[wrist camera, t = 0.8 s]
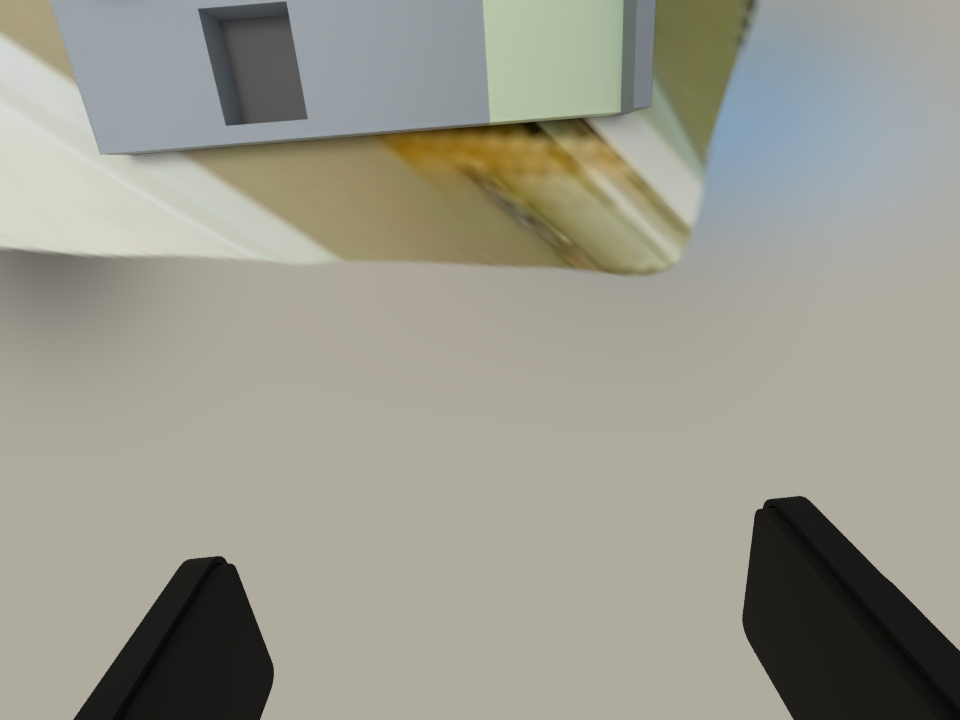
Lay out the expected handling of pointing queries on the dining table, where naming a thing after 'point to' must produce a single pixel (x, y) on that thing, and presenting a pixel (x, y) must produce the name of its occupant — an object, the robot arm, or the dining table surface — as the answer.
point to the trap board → (347, 66)
